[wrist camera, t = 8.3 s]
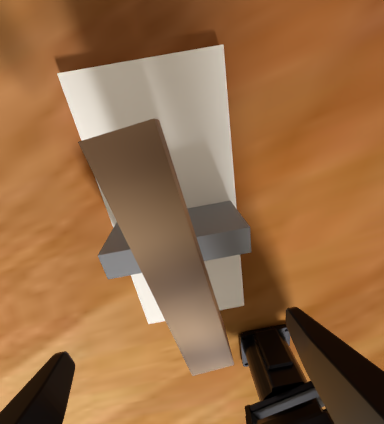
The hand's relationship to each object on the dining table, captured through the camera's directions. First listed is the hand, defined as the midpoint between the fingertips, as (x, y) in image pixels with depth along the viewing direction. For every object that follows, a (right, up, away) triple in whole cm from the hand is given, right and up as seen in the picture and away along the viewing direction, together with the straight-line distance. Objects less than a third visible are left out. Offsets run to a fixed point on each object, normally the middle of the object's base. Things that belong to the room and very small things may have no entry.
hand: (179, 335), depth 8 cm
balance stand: (-1, +5, +11) cm, 12 cm away
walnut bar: (0, +2, +5) cm, 6 cm away
